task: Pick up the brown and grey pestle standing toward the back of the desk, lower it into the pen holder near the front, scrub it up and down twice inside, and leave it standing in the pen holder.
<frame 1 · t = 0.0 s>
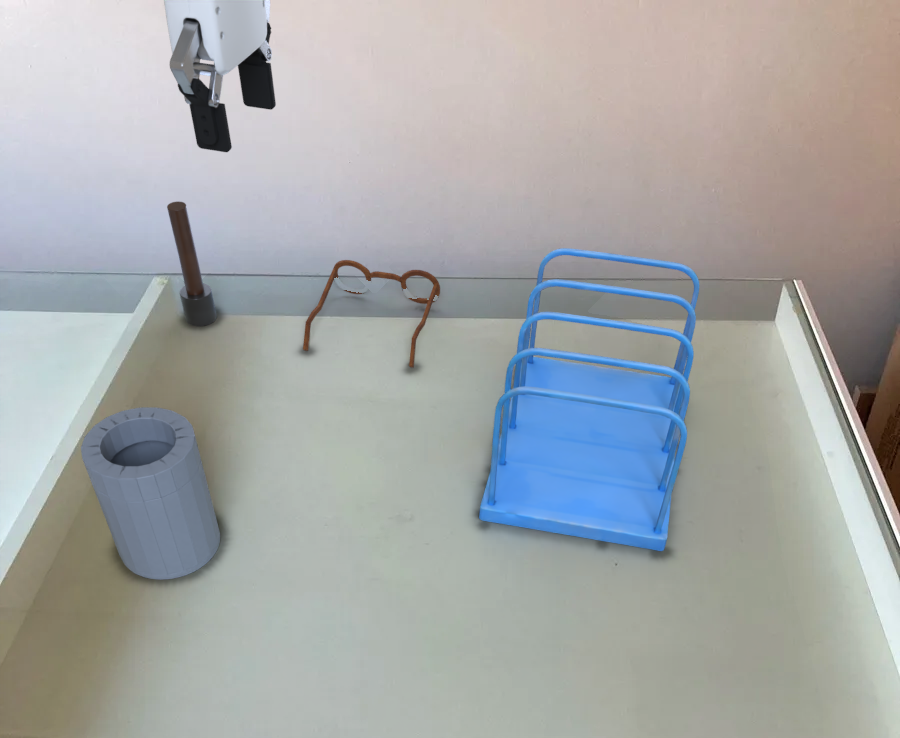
hand: (238, 127, 86), 24 cm above the table, tool pointing down, fingers open, 9 cm apart
brown and grey pestle: (201, 317, 107), on the table
glasses: (373, 330, 106), on the table
pen holder: (170, 543, 83), on the table
file sorter: (585, 454, 93), on the table
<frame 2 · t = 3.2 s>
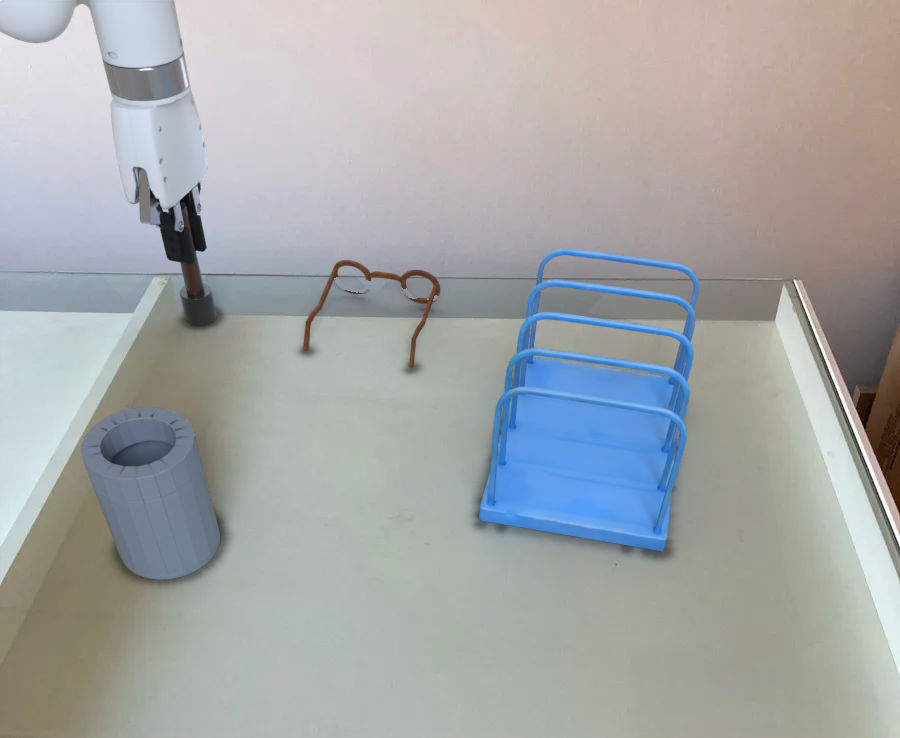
hand: (187, 253, 101), 8 cm above the table, tool pointing down, fingers closed on brown and grey pestle, 2 cm apart
brown and grey pestle: (201, 317, 107), on the table, touching gripper
everything else where it was.
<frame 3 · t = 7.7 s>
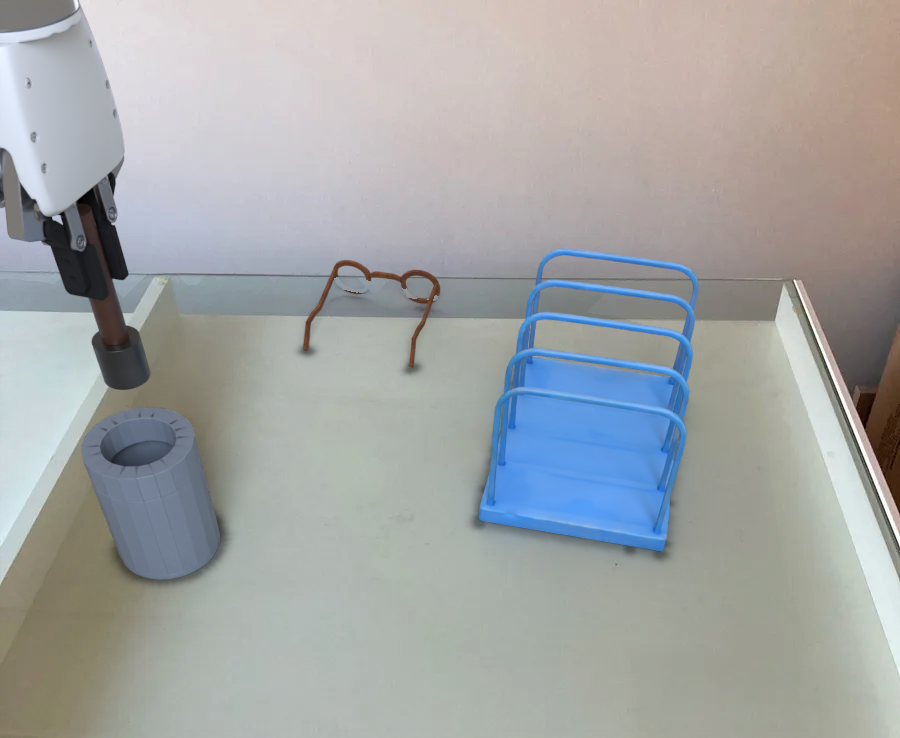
hand: (98, 283, 66), 25 cm above the table, tool pointing down, fingers closed on brown and grey pestle
brown and grey pestle: (127, 376, 72), point 17 cm above the table, touching gripper
everything else where it was.
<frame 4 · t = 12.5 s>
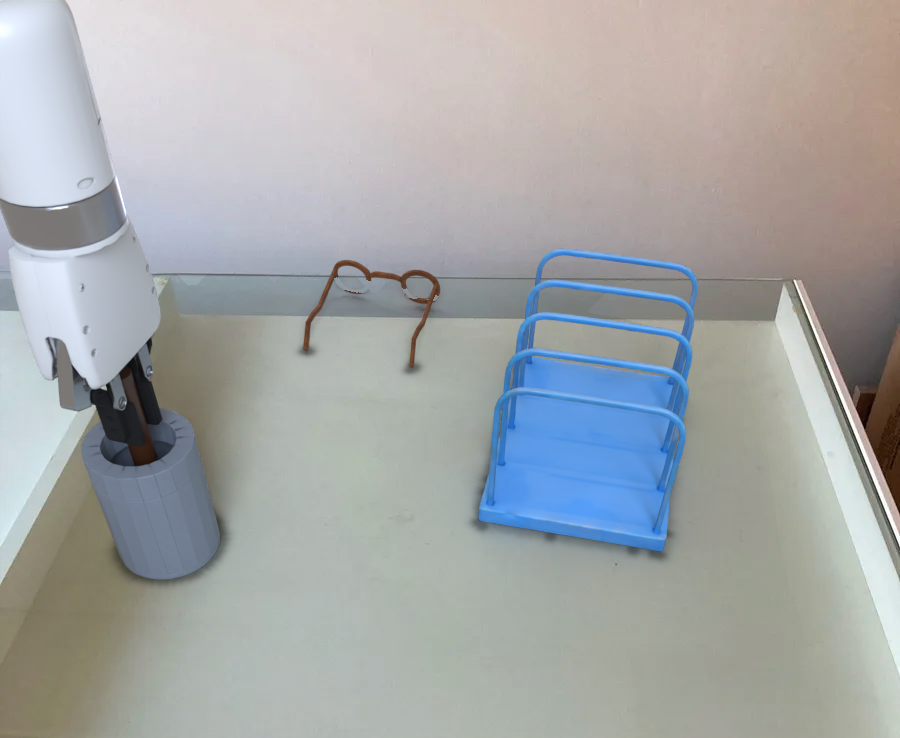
hand: (135, 429, 73), 13 cm above the table, tool pointing down, fingers closed on brown and grey pestle
brown and grey pestle: (159, 502, 79), point 5 cm above the table, touching gripper
everything else where it was.
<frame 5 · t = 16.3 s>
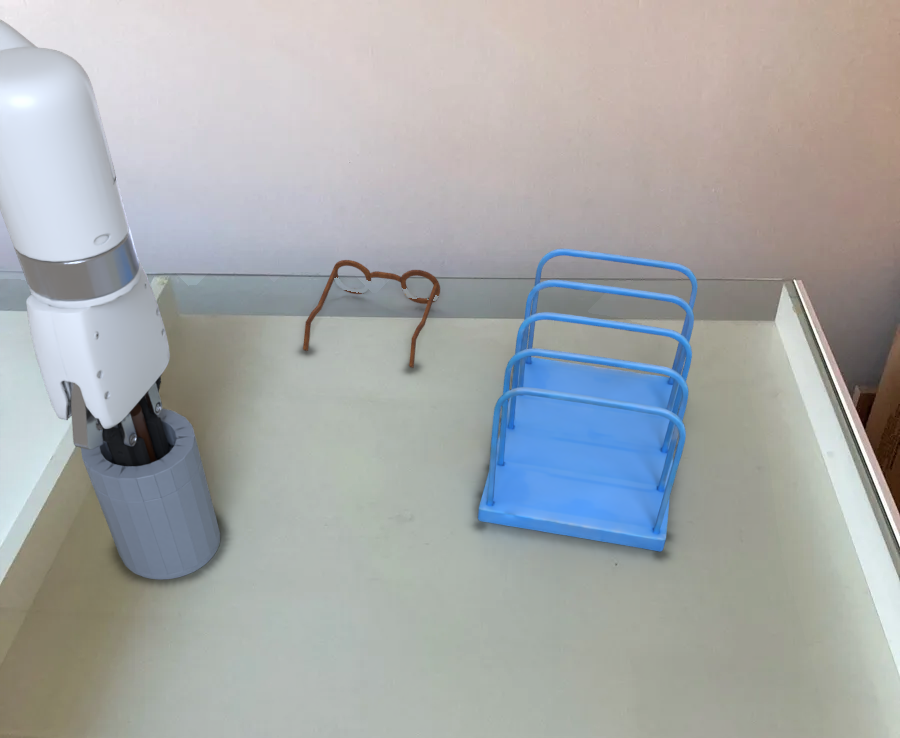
hand: (143, 462, 76), 10 cm above the table, tool pointing down, fingers closed on brown and grey pestle, 2 cm apart
brown and grey pestle: (166, 529, 82), point 2 cm above the table, touching gripper
everything else where it was.
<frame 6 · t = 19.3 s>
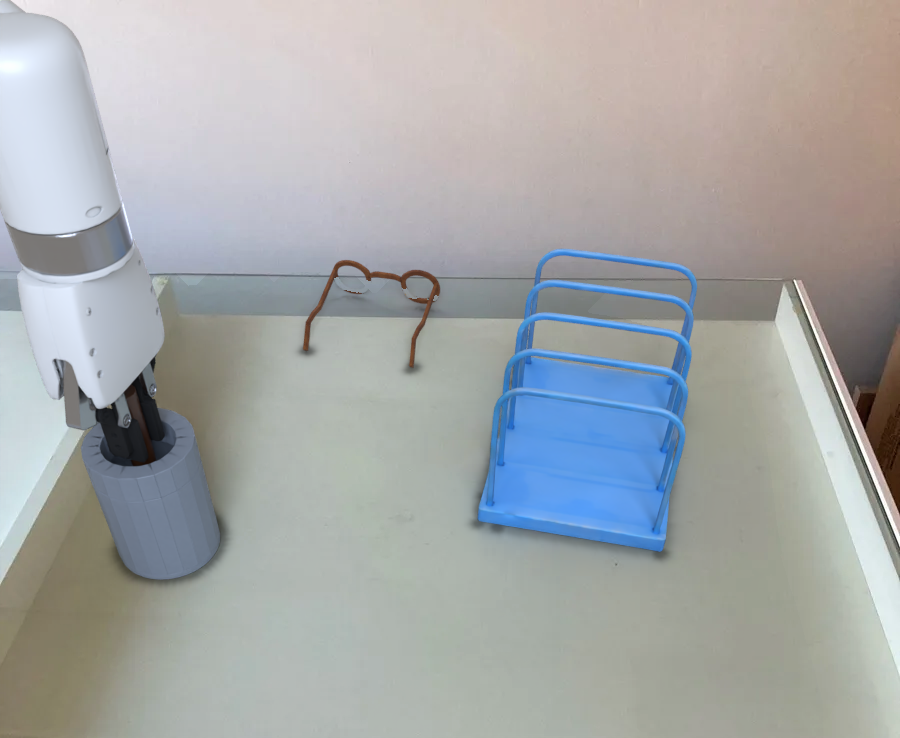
hand: (138, 445, 75), 12 cm above the table, tool pointing down, fingers closed on brown and grey pestle, 2 cm apart
brown and grey pestle: (161, 515, 81), point 3 cm above the table, touching gripper
everything else where it was.
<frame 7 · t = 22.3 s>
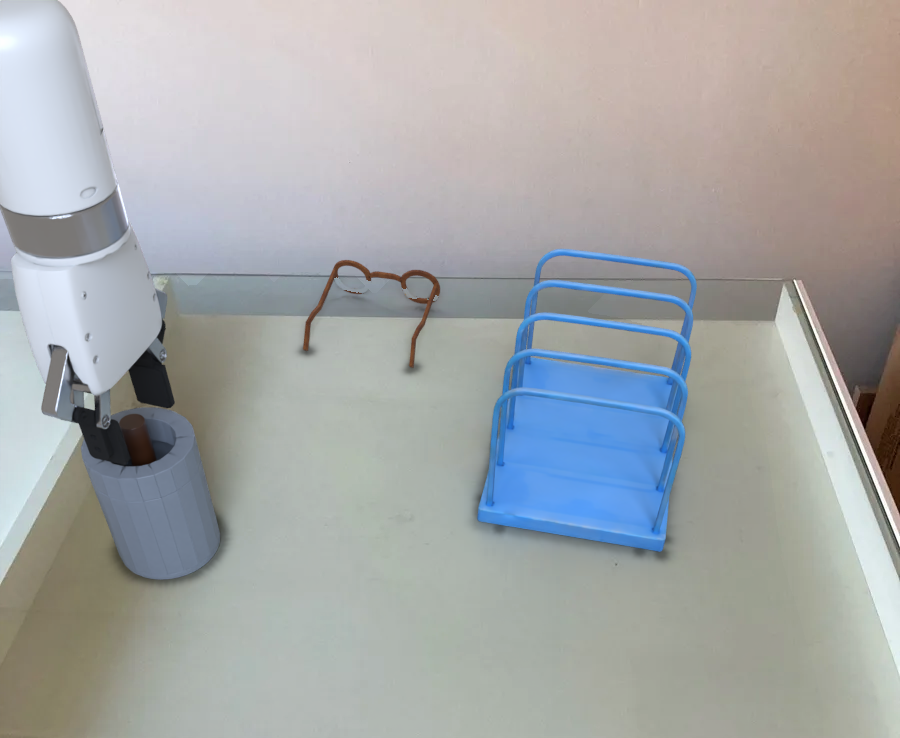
hand: (134, 429, 73), 13 cm above the table, tool pointing down, fingers open, 6 cm apart
brown and grey pestle: (169, 538, 83), point 1 cm above the table, touching pen holder
pen holder: (170, 543, 83), on the table, touching brown and grey pestle
everything else where it was.
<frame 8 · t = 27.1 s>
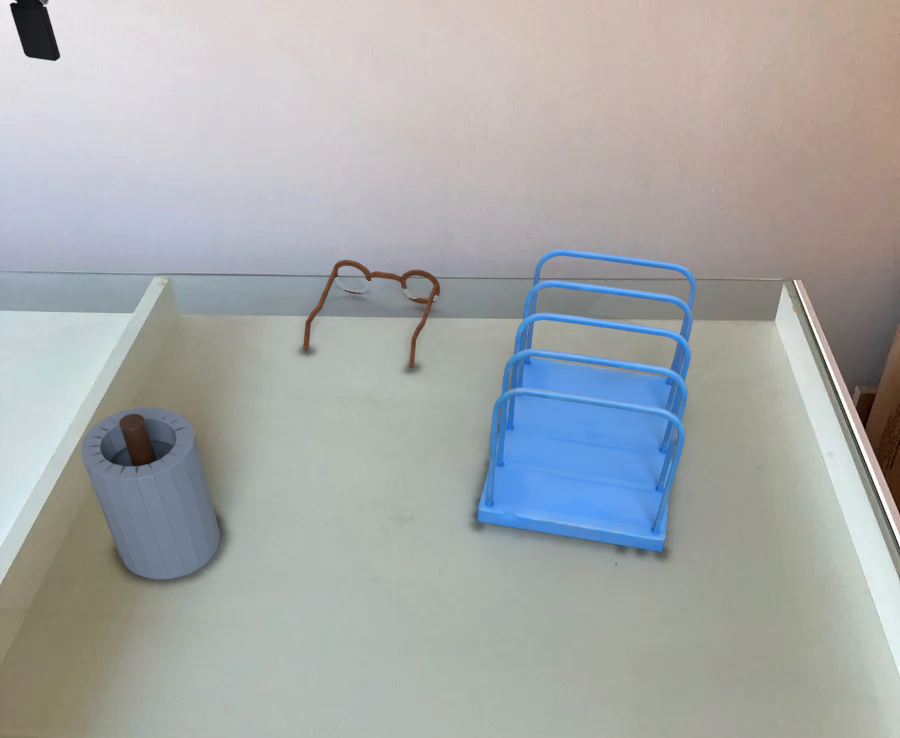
hand: (10, 79, 76), 30 cm above the table, tool pointing down, fingers open, 9 cm apart
nothing on the table moved.
at the end: brown and grey pestle 0.0 cm off-centre in the pen holder, point 0.6 cm above the pen holder's base; the gripper is holding nothing; pen holder tilted 0° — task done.
